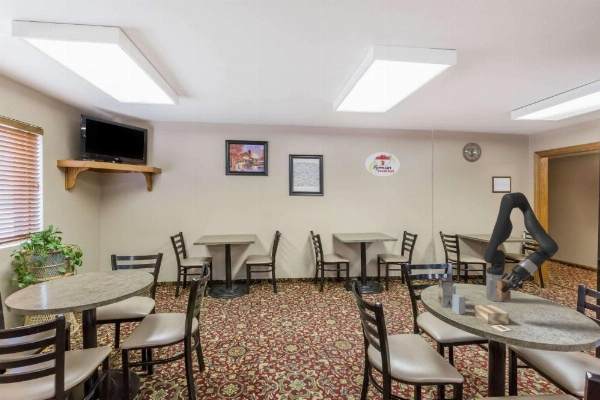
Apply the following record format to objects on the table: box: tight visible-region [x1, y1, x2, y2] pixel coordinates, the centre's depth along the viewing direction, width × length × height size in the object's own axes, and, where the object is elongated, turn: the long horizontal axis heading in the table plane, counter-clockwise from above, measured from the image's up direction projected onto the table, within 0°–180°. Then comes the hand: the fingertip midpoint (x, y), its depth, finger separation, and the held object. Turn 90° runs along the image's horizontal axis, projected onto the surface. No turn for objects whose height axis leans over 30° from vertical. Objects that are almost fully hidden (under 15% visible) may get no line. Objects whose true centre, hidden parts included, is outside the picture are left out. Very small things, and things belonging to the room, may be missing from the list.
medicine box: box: [453, 284, 457, 295], centre depth 188 cm, size 8×4×9 cm, turn 47°
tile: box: [491, 324, 513, 333], centre depth 144 cm, size 6×6×1 cm
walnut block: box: [497, 279, 512, 301], centre depth 153 cm, size 4×4×10 cm
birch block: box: [474, 304, 509, 325], centre depth 155 cm, size 11×11×6 cm
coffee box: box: [437, 276, 454, 309], centre depth 175 cm, size 9×6×16 cm
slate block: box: [451, 293, 466, 316], centre depth 163 cm, size 4×4×10 cm
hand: (499, 289), depth 154 cm, fingers closed on walnut block, 4 cm apart
